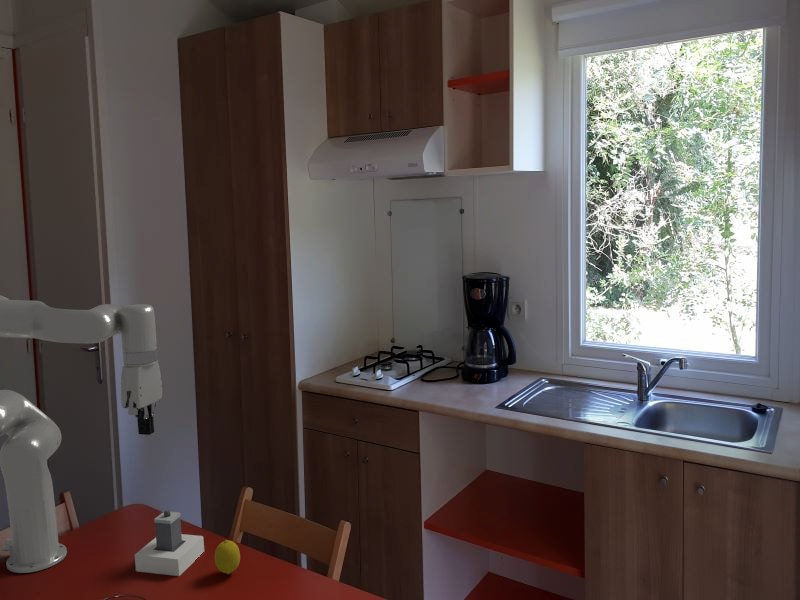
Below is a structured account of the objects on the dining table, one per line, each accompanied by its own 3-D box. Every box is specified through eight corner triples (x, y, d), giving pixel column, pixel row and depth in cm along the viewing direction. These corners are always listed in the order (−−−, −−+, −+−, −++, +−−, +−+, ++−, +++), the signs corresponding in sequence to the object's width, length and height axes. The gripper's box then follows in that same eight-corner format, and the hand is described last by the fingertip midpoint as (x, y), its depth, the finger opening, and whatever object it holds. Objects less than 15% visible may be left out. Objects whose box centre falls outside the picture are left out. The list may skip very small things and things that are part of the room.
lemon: (243, 567, 156) (241, 533, 155) (238, 580, 150) (236, 545, 149) (218, 568, 156) (216, 534, 155) (213, 581, 150) (210, 546, 149)
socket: (135, 571, 155) (134, 554, 155) (163, 547, 166) (162, 532, 165) (179, 576, 153) (177, 559, 152) (204, 551, 163) (203, 536, 163)
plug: (157, 560, 158) (153, 515, 156) (167, 551, 162) (164, 507, 160) (173, 562, 157) (169, 516, 155) (183, 553, 161) (180, 508, 159)
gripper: (145, 350, 167) (151, 423, 169) (105, 364, 153) (112, 443, 155) (172, 351, 165) (178, 424, 168) (135, 365, 151) (141, 445, 153)
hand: (146, 433), depth 161 cm, fingers closed
